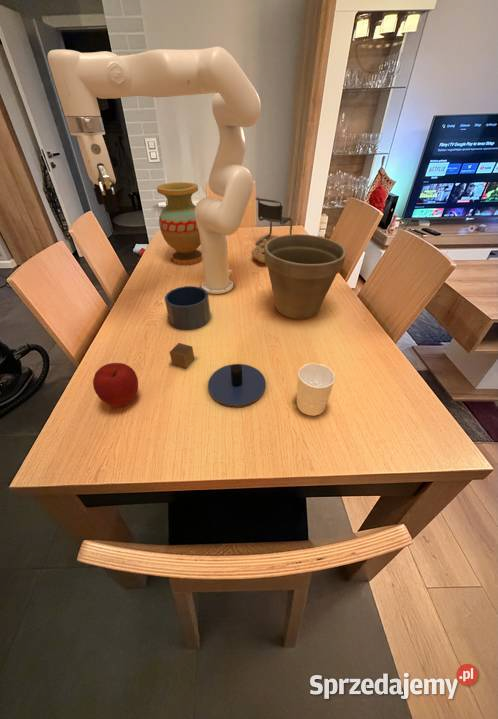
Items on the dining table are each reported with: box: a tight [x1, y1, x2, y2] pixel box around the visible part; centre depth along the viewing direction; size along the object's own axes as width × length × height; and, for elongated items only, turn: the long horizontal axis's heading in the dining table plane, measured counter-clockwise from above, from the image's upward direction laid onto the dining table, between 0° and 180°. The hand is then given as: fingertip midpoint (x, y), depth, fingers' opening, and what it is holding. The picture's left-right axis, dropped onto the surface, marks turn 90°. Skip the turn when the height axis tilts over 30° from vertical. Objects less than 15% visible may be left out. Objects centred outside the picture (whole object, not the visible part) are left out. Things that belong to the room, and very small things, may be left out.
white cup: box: [296, 362, 336, 417], centre depth 69 cm, size 8×8×10 cm
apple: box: [92, 362, 139, 408], centre depth 70 cm, size 10×10×10 cm
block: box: [169, 342, 195, 369], centre depth 83 cm, size 4×4×4 cm
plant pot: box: [264, 233, 347, 320], centre depth 99 cm, size 25×25×22 cm
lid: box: [207, 363, 267, 407], centre depth 75 cm, size 15×15×6 cm
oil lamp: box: [251, 238, 268, 264], centre depth 135 cm, size 11×15×8 cm
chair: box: [255, 196, 293, 246], centre depth 149 cm, size 13×17×22 cm
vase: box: [156, 181, 202, 266], centre depth 131 cm, size 20×20×30 cm
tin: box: [164, 285, 211, 331], centre depth 98 cm, size 14×14×8 cm
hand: (108, 207), depth 80 cm, fingers open, 9 cm apart
